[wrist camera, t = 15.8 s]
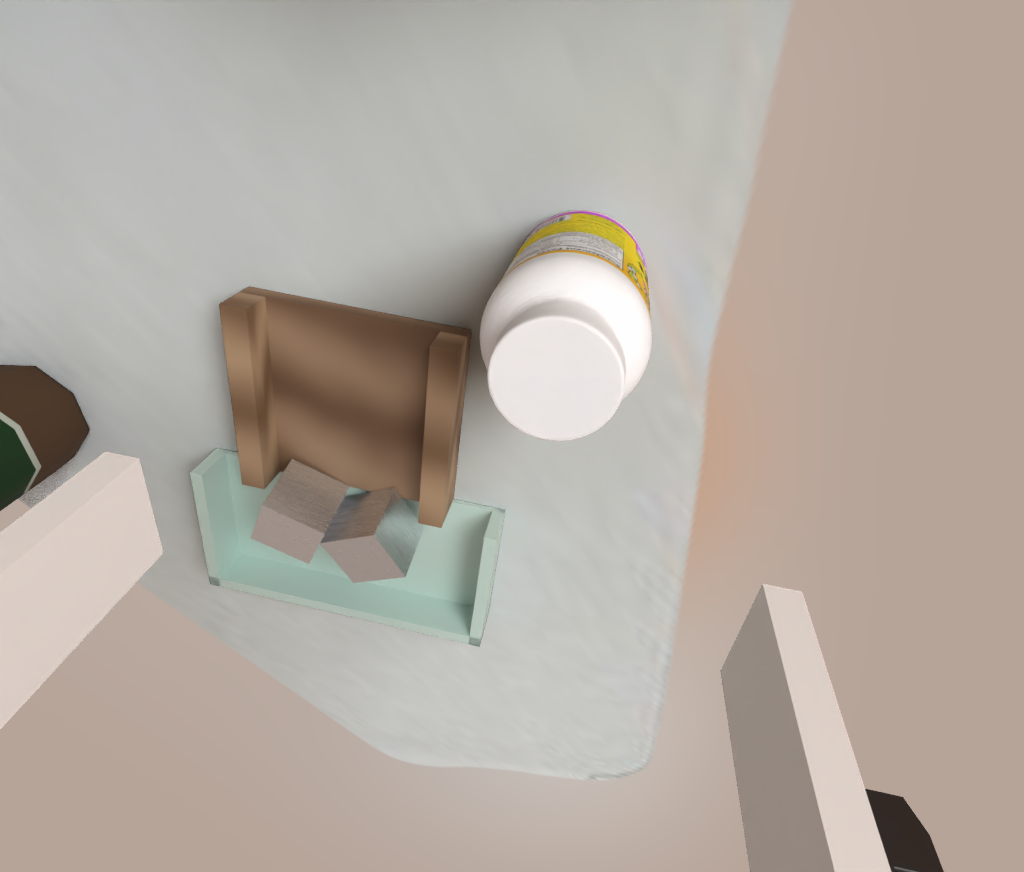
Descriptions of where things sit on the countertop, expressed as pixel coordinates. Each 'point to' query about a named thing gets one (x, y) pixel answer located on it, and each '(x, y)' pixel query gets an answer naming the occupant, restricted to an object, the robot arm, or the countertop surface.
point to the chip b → (373, 536)
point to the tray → (323, 584)
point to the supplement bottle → (568, 327)
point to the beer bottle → (34, 429)
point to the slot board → (346, 395)
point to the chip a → (298, 511)
